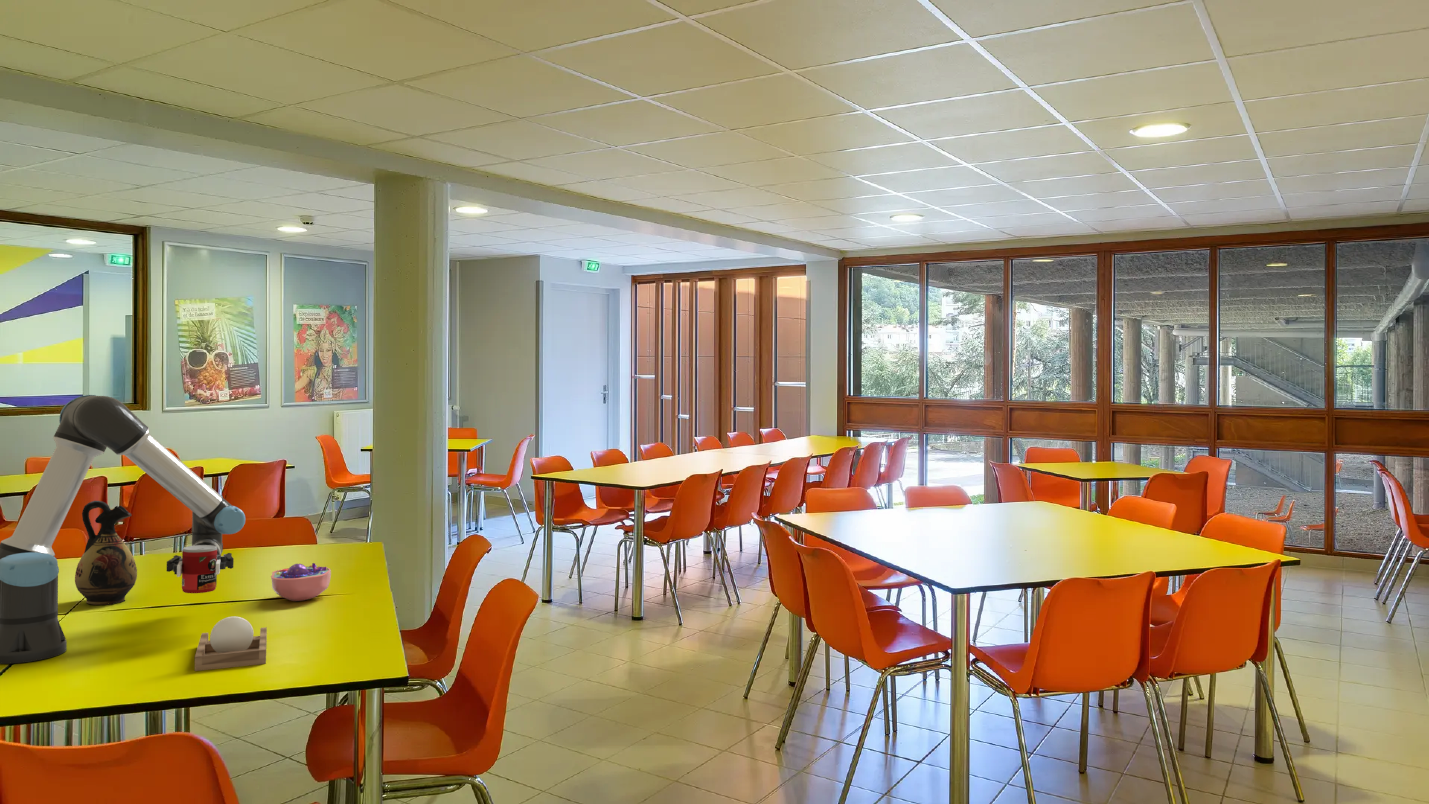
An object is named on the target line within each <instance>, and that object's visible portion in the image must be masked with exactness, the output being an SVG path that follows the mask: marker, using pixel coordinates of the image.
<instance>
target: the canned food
mask: <svg viewBox="0 0 1429 804" xmlns="http://www.w3.org/2000/svg"><path fill="white" fill-rule="evenodd" d="M181 553H182V555H181V558H182V574H181V590H182V592H183V593H186V594H204V593H211V592H213V591H215V590H216V588H217V582H218V581H217V577H218V574H216V562H217V546H213V545H196V546H192V545H190V546H184V547H183V548H182V552H181Z"/></svg>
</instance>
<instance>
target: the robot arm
mask: <svg viewBox="0 0 1429 804" xmlns="http://www.w3.org/2000/svg"><path fill="white" fill-rule="evenodd" d="M52 439H53V440H54V443H55V445H56V447H55V449H54V451H53V453H52V455H51V457H50V459H49V461H48V463H47V464H46V466H45V469H44V471H43V472H42V475H41V477H40V479H39V480H38V483H37V485H36V487H35V490H34V491H33V492H32V493H33V494H32V495H31V497H30V499H29V500H28V504H27V505H26V508H25V510H24V512H23V513H22V516H21V517H20V519H19V522H18V524H17V525H16V527H15V529H14V531H13V533H12V535H11V536H9V537H8V538H5V539H3V540H1V541H0V665H1V664H2V665H3V664H5V665H8V664H9V665H10V664H21V663H30V662H37V661H42V660H46V659H49V658H54V657H56V656H59V655H61V654H64V653H65V652H66V651H67V642H68V641H67V639H66V637H65V634H64V631H63V628H62V626H61V624H60V622H59V621H60V620H59V612H58V610H59V605H58V603H59V573H60V572H59V571H60V569H59V566H58V565H59V564H58V562H59V561H58V559H57V558H56V557H55V556H56V554H55V552H54V549H53V548H52V546H53V544H54V542H55V541H56V537H57V536H58V534H59V531H60V529H61V527H62V525H63V523H64V521H65V520H66V517H67V516H68V512H69V511H70V509H71V507H72V504H73V502H74V500H75V498H76V496H77V495H78V492H79V490H80V488H81V486H82V484H83V482H84V480H85V478H86V476H87V473H88V471H89V470H90V468H91V465H92V463H93V461H94V459H95V458H96V457H98V456H101V455H102V454H103V455H104V453H105V452H106V449H107V448H108V449H109V450H111V451H112V452H113V453H114V454H116V455H118V456H125V457H126V458H127V459H129V461H131V462H132V463H133V464H134V465H136V466H137V467H138V468H140V469H141V470H142V471H143V472H144V473H146V474H147V475H148V476H149V477H150V478H152V479H153V480H154V481H155V482H157V483H158V484H159V485H160V486H161V487H163V489H164V490H166V491H167V492H169V493H170V494H171V495H172V496H173V497H175V498H176V500H178V501H180V503H182V504H183V505H184V506H185V507H186V508H187V509H189V510H190V511H191V512H192V517H191V519H192V520H191V546H196V545H213V546H217V562H216V574H217V575H220V572H221V570H226V568H227V569H234V562H235V561H234V557H233V554H232V553H230V552H228V553H226V554H225V553H224V554H223V555H222V553H223V551H224V549H223V548H224V545H223V544H224V543H223V535H233V534H236V533H239V532H240V531H241V530H242V529H243V528H244V525H245V524H246V515H245V513H244V511H243V510H242V509H240V508H239V507H237V506H235V505H232V504H231V503H230V502H229V501H228V500H226V499H225V498H224V497H223V495H222V494H219V493H218V492H217V491H216V490H215V489H214V488H212V486H211V485H209V484H208V483H207V482H205V481H204V480H203V479H202V478H201V477H200V476H199V475H197V474H196V473H195V472H194V471H192V470H191V469H190V467H188V466H187V465H186V464H185V463H183V461H181V460H180V459H179V458H178V457H176V455H174V453H172V452H171V451H170V450H169V449H167V448H166V447H165V446H164V445H162V444H161V442H159V441H158V440H157V439H156V438H155V437H153V436H152V435H151V434H150V427H149V426H148V425H146V424H145V423H144V421H142V420H141V419H140V418H138V417H137V415H135V413H133V411H131V410H130V409H129V408H128V407H127V406H126V405H125V404H124V403H122V402H121V401H120V400H118V399H117V398H114V397H112V396H108V395H96V394H86V395H85V394H84V395H80V396H78V397H74V398H73V399H71V400H70V401H68V402H67V403H66V404H65V405H64V406H63V407H62V409H61V411H60V414H59V425H58V427H57V428H56V431H55V433H54V435H53V438H52ZM166 572H167V573H168V572H169V573H170V572H174V573H173V574H174V575H176V577H177V578H179V577H182V555H176V554H175V555H173V558H171V559H169V560H166Z"/></svg>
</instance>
